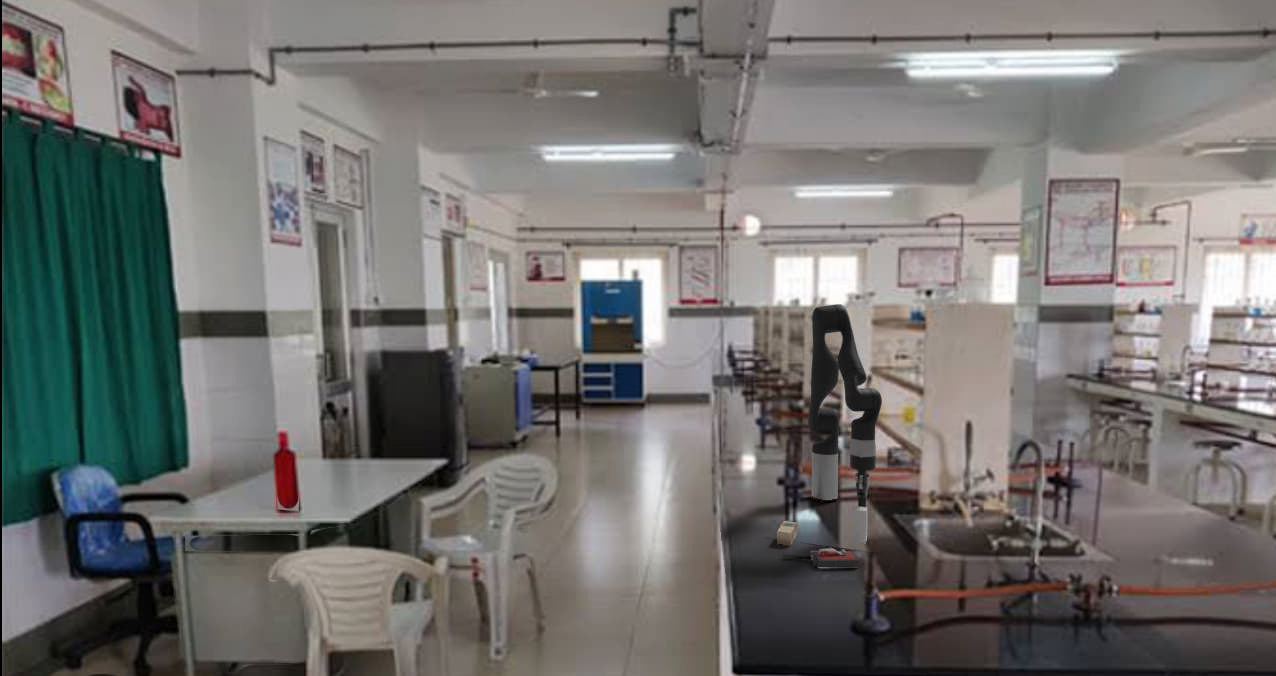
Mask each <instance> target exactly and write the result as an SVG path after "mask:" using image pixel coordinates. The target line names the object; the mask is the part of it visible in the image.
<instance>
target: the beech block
mask: <svg viewBox="0 0 1276 676" xmlns="http://www.w3.org/2000/svg"><path fill="white" fill-rule="evenodd" d="M780 525H781V526H780V528H779V529H778V531H777V540H776V545H778V544H783V545H782V546H785V545H791V544H792V545H793V543H794V542H793V540H794V539H795V537H796V535H797V527H798V522H794V521H787V520H783V522H782V523H781V524H780ZM792 542H793V543H792ZM792 545H791V546H792Z"/></svg>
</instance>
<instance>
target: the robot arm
mask: <svg viewBox="0 0 1276 676" xmlns="http://www.w3.org/2000/svg"><path fill="white" fill-rule="evenodd" d="M811 318H812V319H811V323H812V324H811V325H812V327H811V328H812V357H811V359H812V360H811V368H810V369H811V374H810V377H811V378H810V401H809V408H808V409H809V410H808V417H807V418H808V419H807V424H808V425H807V426H808V427H807V428H808V430H809V432H810V433H812V434H818V435H827V437H826V438H825V439H822V440H820V441H817V442H814V443H812V445H811V497H812V496H813V497H815V498H818V499H822V500H832V499H837V498H839V497H838V495H839V494H838V492H839V491H838V490H839V481H838V480H839V435H840V434H839V431H840V412H839V411H838V410H837V409H836V408H822V407H821V405H822V403H823V401H824V400H825V399H826V398H827V397H828V396H829V395H830V394H831V392H832V391H833V390H834V389H835V387H836V386H837V384H838V382H839V374H840V375H841V377H842V381H843V387H844V402H845V405H846V407H847V408H848V409H849V410H850V411H852V412H863V414H862V416H860V417H857V418H854V419H853V420H852V421H851V423H850V444H849V467H850V468H851V469H853V470H857V472H856V473H855V475H854V477H855V478H854V479H855V490H856V497H857V498H858V499H857V500H858V501H857V506H859V507H867V496H868V490H869V487H870V485H869V483H870V478H871V477H870V475H871V473H868V471H874V470H875V469H876V467H877V466H876V463H877V461H876V459H877V458H876V457H877V456H876V455H877V452H876V451H877V444H876V425H877V421H878V417H879V415H880V411H881V410H882V409H881V407H882V403H883V399H882V394H881V392H880V391H879V390H878V389H876V388H873V387H870V388H869V387H867V388H865V387H863V388H859V386H862V385H863V384H864V383H866V381H867V378H868V376H867V373H866V370H865V368H864V366H863V363H862V361H861V359H860V355H859V352H858V349H857V345H856V344H857V343H856V340H855V335H854V332H853V327H852V323H851V319H850V315H849V313H848V310H847V309H846V307H845V306H844V305H843V304H839V303H837V304H830V305H829V304H828V305H822V306H817V307H814V309H813V311H812V317H811ZM839 332H840V334H841V336H842V342H841V346H840V349H839V353H838V355H837V357H836V356H835V355H834V354H833V352H832V350H830V348H829V346H828V344H827V343H826V334H831V333H839Z"/></svg>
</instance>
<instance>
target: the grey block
mask: <svg viewBox="0 0 1276 676" xmlns="http://www.w3.org/2000/svg"><path fill="white" fill-rule="evenodd" d="M851 534H852V542H858V543H864V544H866V541H867V536H868V507H867V506H866V507H859V506H858V505H853V506H852V509H851Z"/></svg>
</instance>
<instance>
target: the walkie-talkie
mask: <svg viewBox="0 0 1276 676" xmlns="http://www.w3.org/2000/svg"><path fill="white" fill-rule="evenodd" d="M783 557H784V558H807V557H811V558H809V560H810V559H811V560H813V561H812V566H813V567H816V565H817V566H818V567H859V568H860V557H859V556H858V554H856V553H855V551H854V550H848V551H847V550H846V549H841V551H839V550H836V548H832V547H826V548H819V549H818V550H810V552H806V553H804V552H803V553H800V552H799V553H797V552H796V553H795V552H794V553H784V554H783Z"/></svg>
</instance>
